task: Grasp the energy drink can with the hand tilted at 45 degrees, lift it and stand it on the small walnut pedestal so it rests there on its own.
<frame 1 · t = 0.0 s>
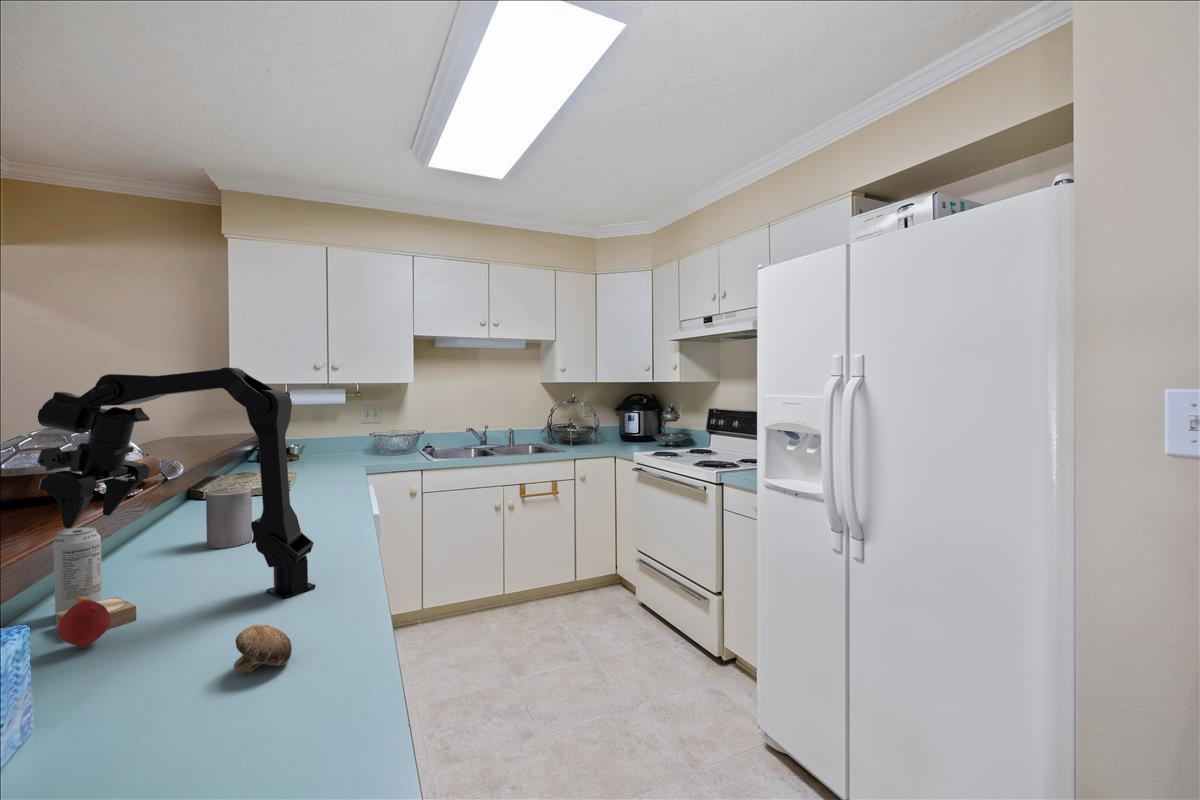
hand: (87, 521, 99), 15 cm above the counter, fingers open, 9 cm apart
pedestal: (97, 623, 90), on the counter
energy drink can: (79, 614, 94), on the counter
pillar candle: (230, 544, 136), on the counter
pomegranate: (85, 648, 82), on the counter
mushroom: (264, 667, 77), on the counter
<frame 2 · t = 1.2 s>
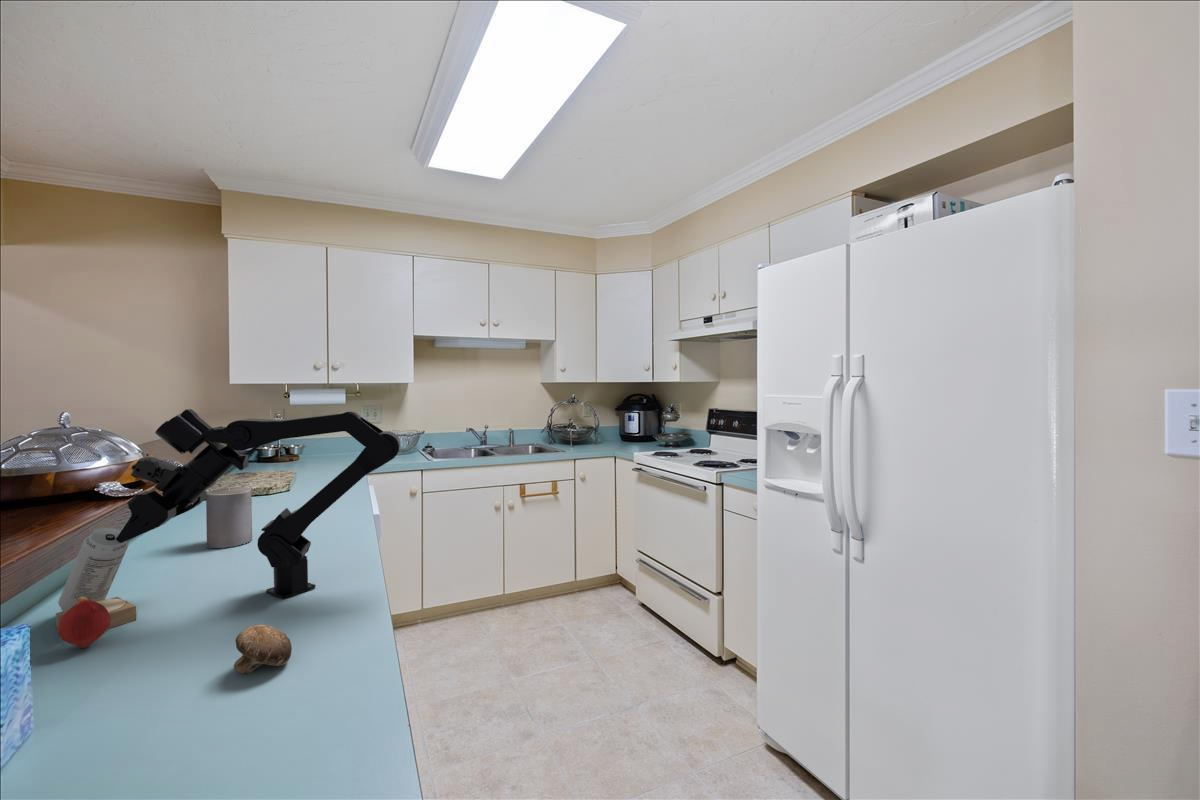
hand: (132, 534, 96), 14 cm above the counter, fingers open, 9 cm apart
energy drink can: (79, 606, 94), point 1 cm above the counter, touching gripper
everything else where it was.
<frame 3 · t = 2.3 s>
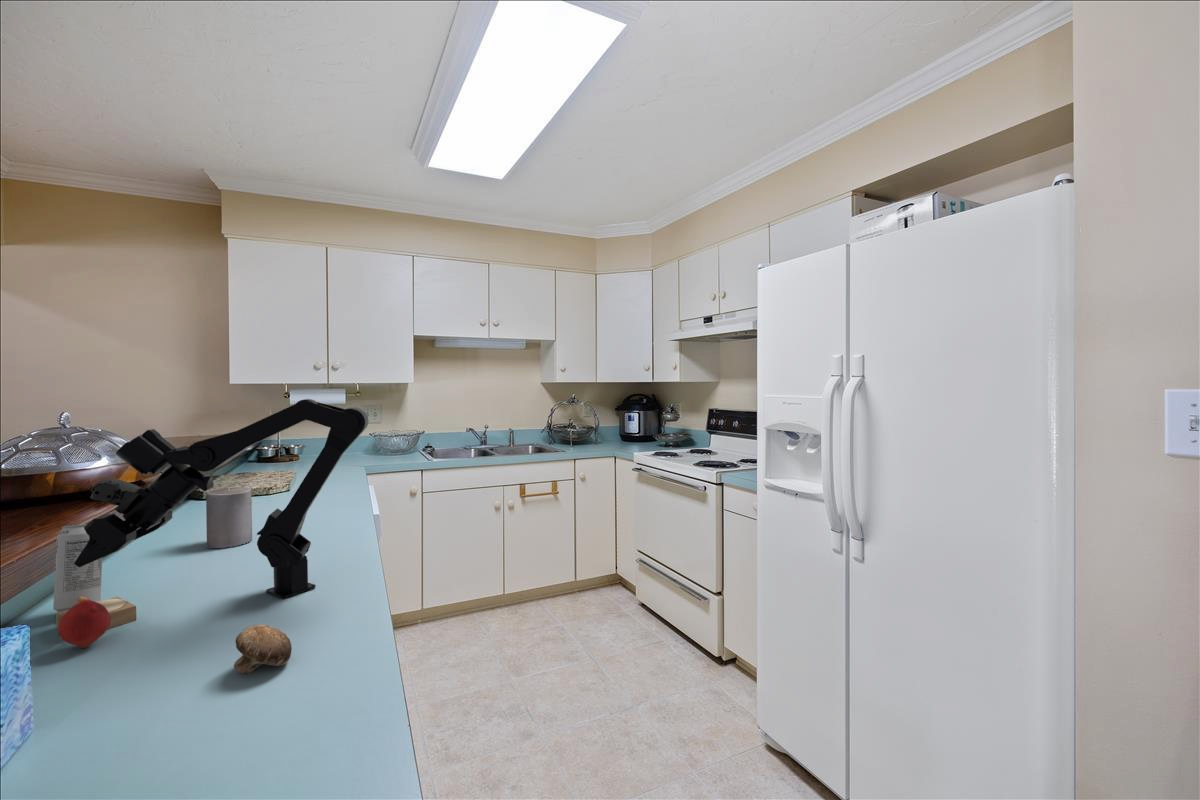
hand: (92, 557, 95), 10 cm above the counter, fingers open, 9 cm apart
energy drink can: (77, 611, 94), on the counter
everything else where it was.
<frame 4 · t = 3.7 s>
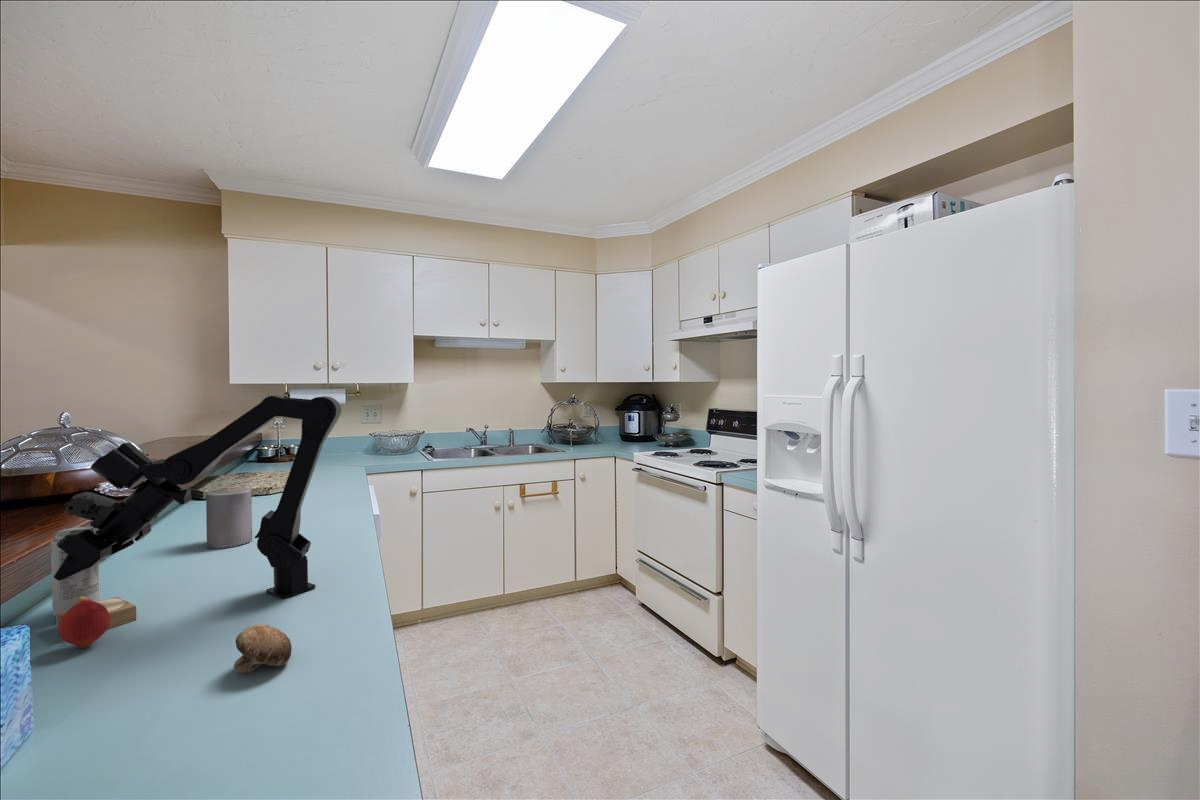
hand: (68, 572, 94), 8 cm above the counter, fingers closed on energy drink can, 6 cm apart
energy drink can: (77, 614, 94), on the counter, touching gripper
everything else where it was.
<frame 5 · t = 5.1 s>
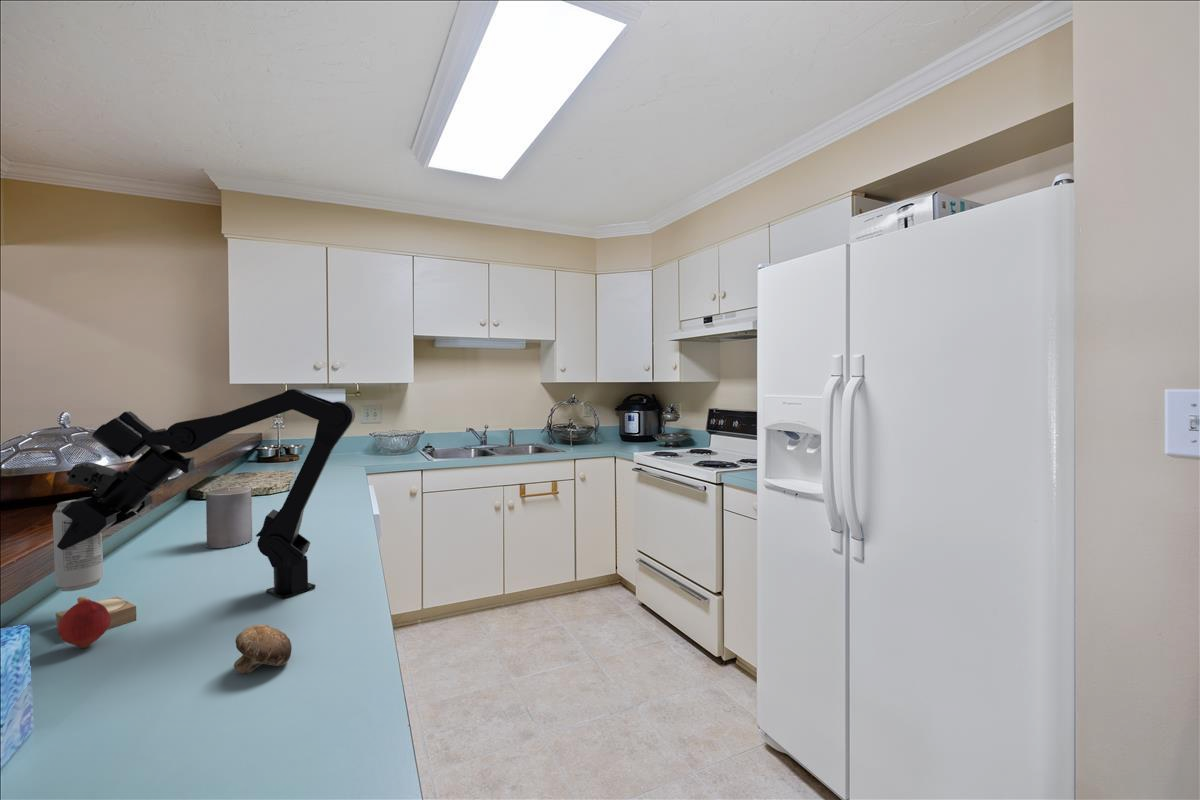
hand: (70, 542, 93), 13 cm above the counter, fingers closed on energy drink can, 6 cm apart
energy drink can: (80, 587, 93), point 5 cm above the counter, touching gripper
everything else where it was.
when the fingers open (11 cm above the counter, at t = 6.7 s): energy drink can stays where it is, resting on pedestal.
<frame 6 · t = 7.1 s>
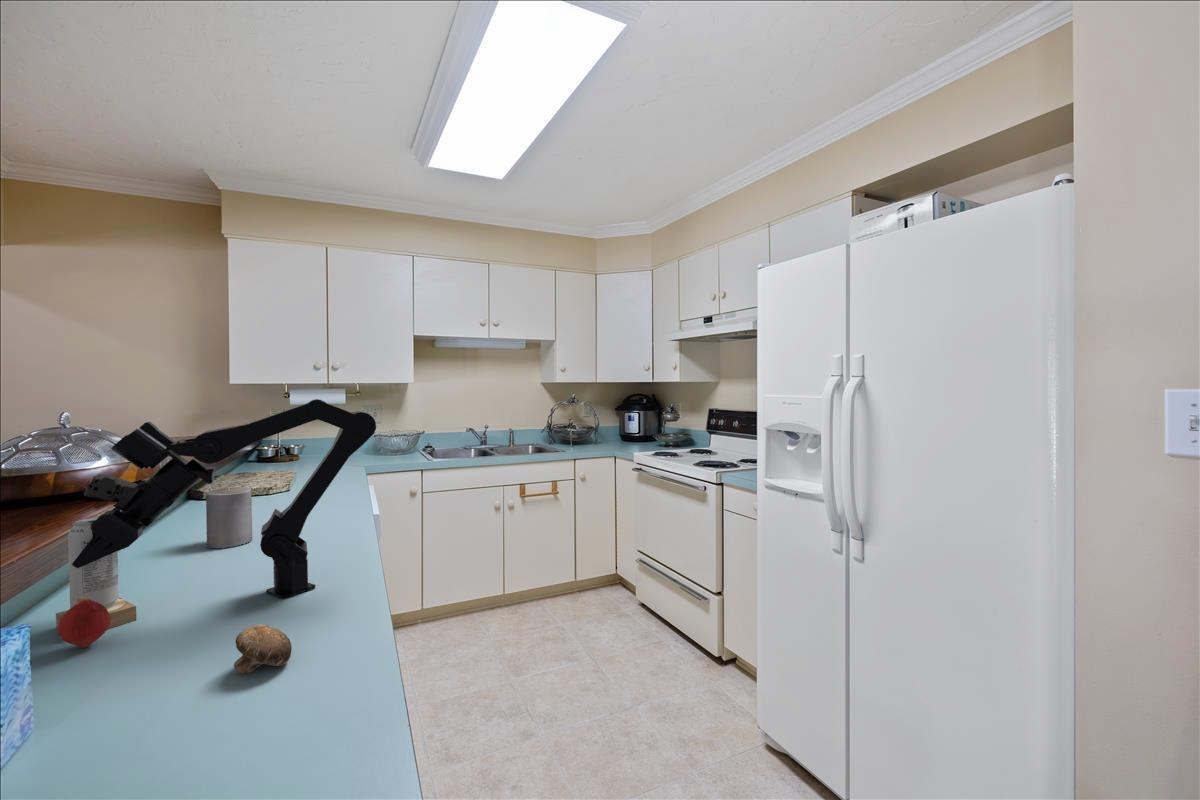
hand: (83, 558, 89), 12 cm above the counter, fingers open, 9 cm apart
energy drink can: (95, 609, 90), point 3 cm above the counter, touching pedestal
everything else where it was.
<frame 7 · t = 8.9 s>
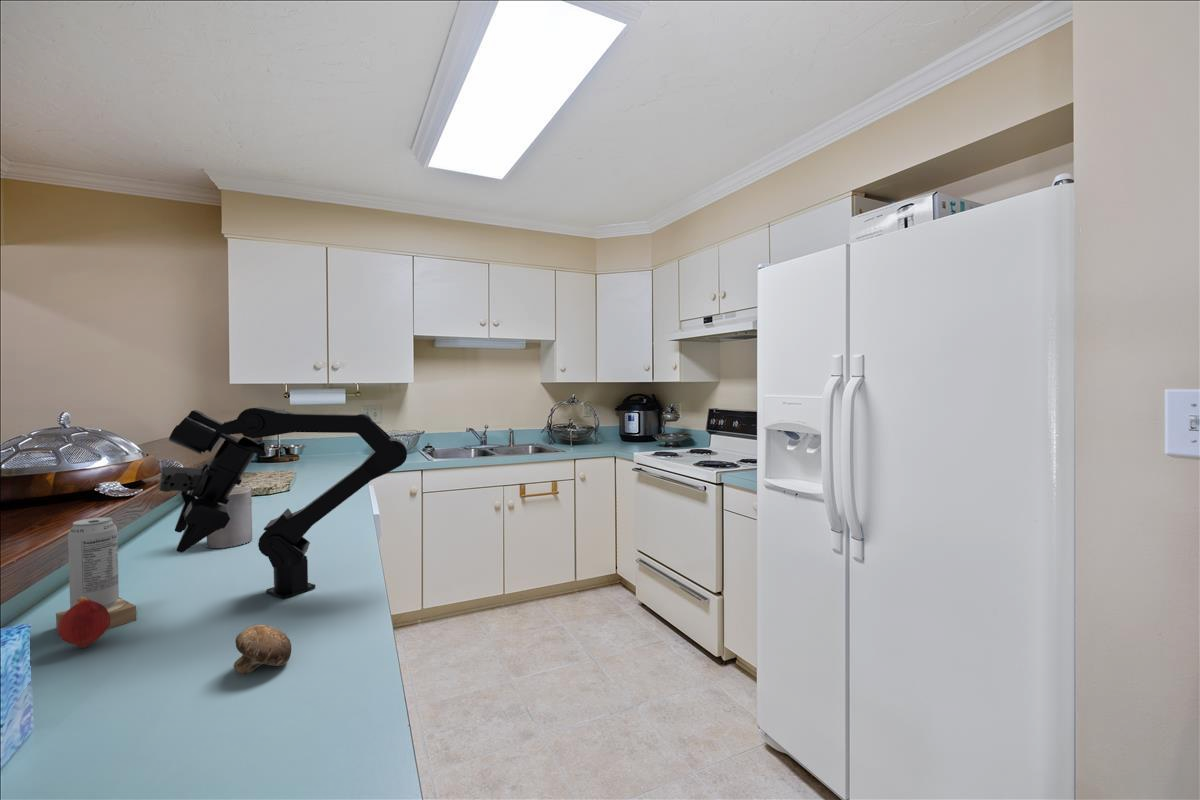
hand: (178, 541, 98), 12 cm above the counter, fingers open, 9 cm apart
nothing on the counter moved.
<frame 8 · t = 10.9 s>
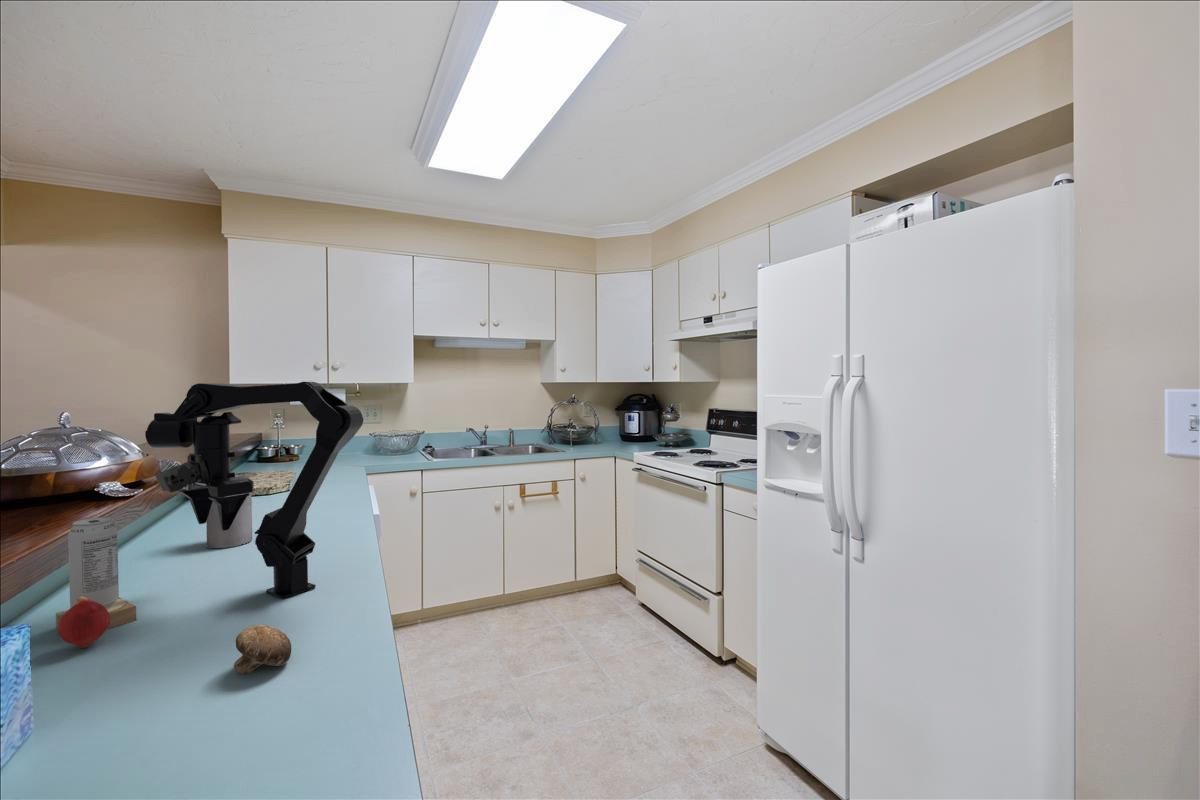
hand: (213, 526, 104), 13 cm above the counter, fingers open, 9 cm apart
nothing on the counter moved.
at the end: energy drink can inside the target area on the pedestal (0.1 cm from its centre), point 2.6 cm above the pedestal's base; energy drink can tilted 0°; the gripper is holding nothing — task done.
